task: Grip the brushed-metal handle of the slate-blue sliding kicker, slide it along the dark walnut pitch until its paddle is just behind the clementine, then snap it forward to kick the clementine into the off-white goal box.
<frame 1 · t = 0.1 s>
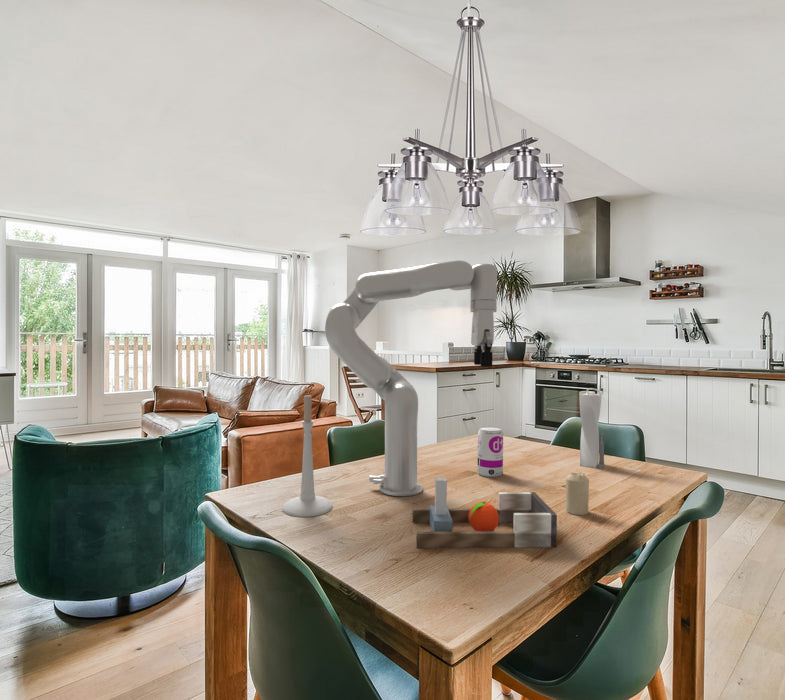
hand: (482, 365, 144), 37 cm above the table, tool pointing down, fingers open, 9 cm apart
kicker: (440, 505, 112), point 6 cm above the table, slide at 0.0 cm
clementine: (481, 534, 113), resting in pitch
skyscraper: (590, 466, 174), on the table
candle: (576, 512, 127), on the table
supplement can: (489, 474, 162), on the table
pitch: (479, 533, 113), on the table
candlestick: (307, 508, 129), on the table
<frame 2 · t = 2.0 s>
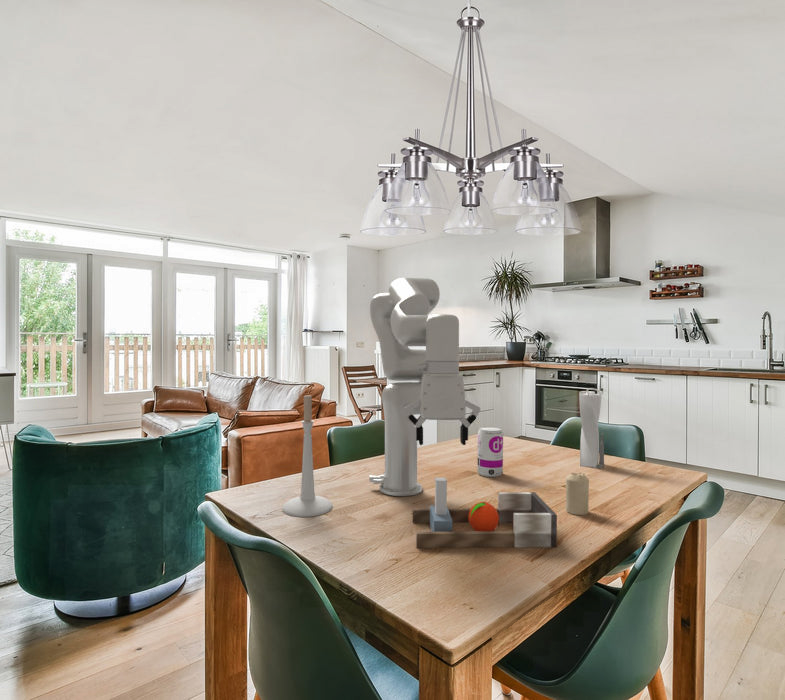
hand: (441, 443, 112), 21 cm above the table, tool pointing down, fingers open, 9 cm apart
nothing on the table moved.
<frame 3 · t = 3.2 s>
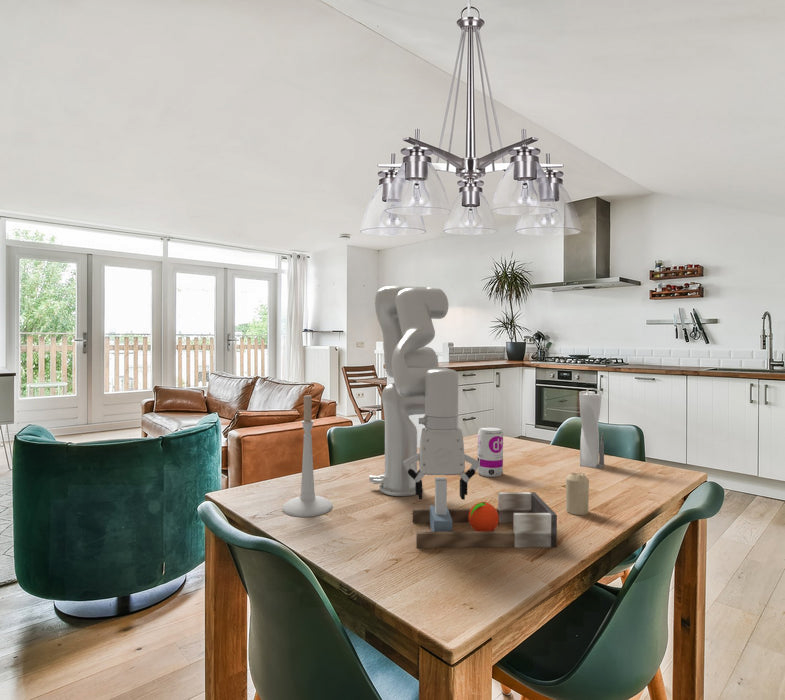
hand: (441, 497, 112), 8 cm above the table, tool pointing down, fingers open, 9 cm apart
nothing on the table moved.
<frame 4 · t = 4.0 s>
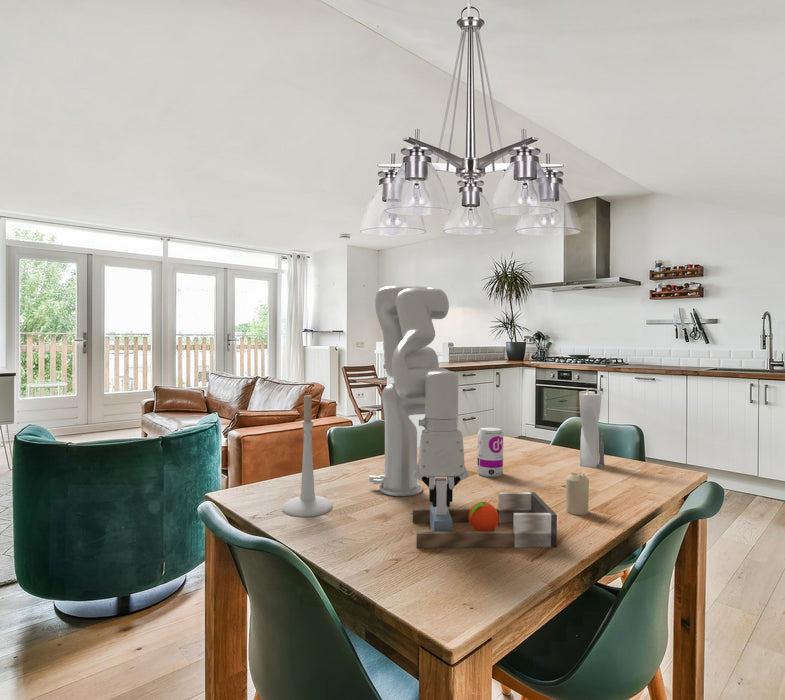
hand: (440, 504, 112), 7 cm above the table, tool pointing down, fingers closed on kicker, 2 cm apart
kicker: (440, 505, 112), point 6 cm above the table, slide at 0.0 cm, touching gripper
everything else where it was.
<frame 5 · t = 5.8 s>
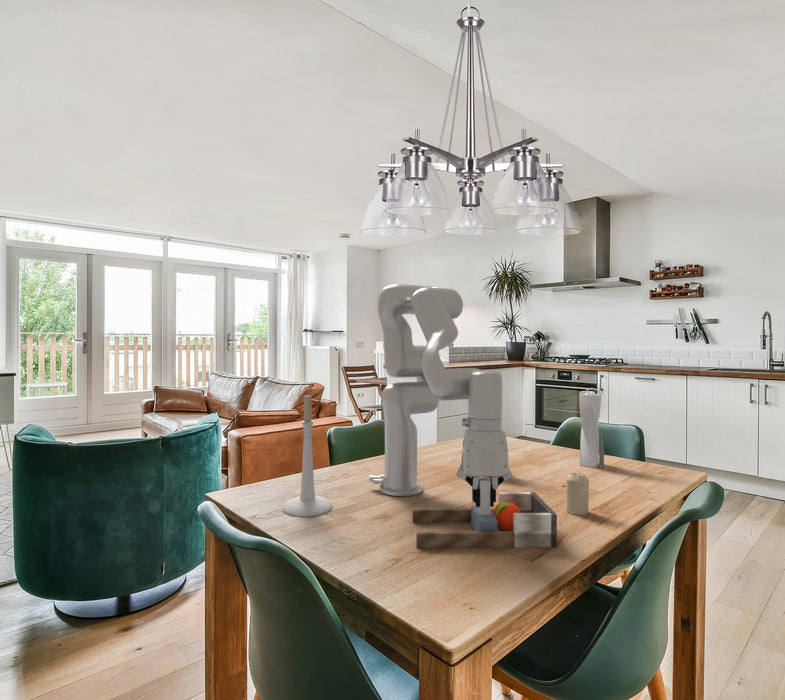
hand: (483, 504, 113), 7 cm above the table, tool pointing down, fingers closed on kicker, 2 cm apart
kicker: (483, 505, 113), point 6 cm above the table, slide at 9.9 cm, touching clementine, gripper
clementine: (505, 533, 113), resting in pitch, touching kicker
everything else where it was.
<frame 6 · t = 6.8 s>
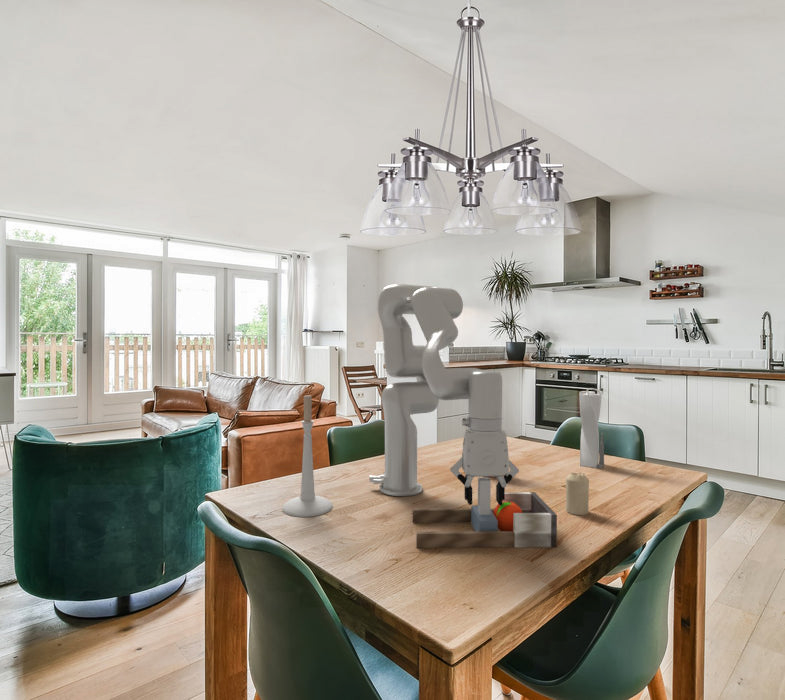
hand: (484, 502, 113), 7 cm above the table, tool pointing down, fingers open, 6 cm apart
kicker: (484, 505, 113), point 6 cm above the table, slide at 9.9 cm
clementine: (505, 533, 113), resting in pitch, touching gripper
everything else where it was.
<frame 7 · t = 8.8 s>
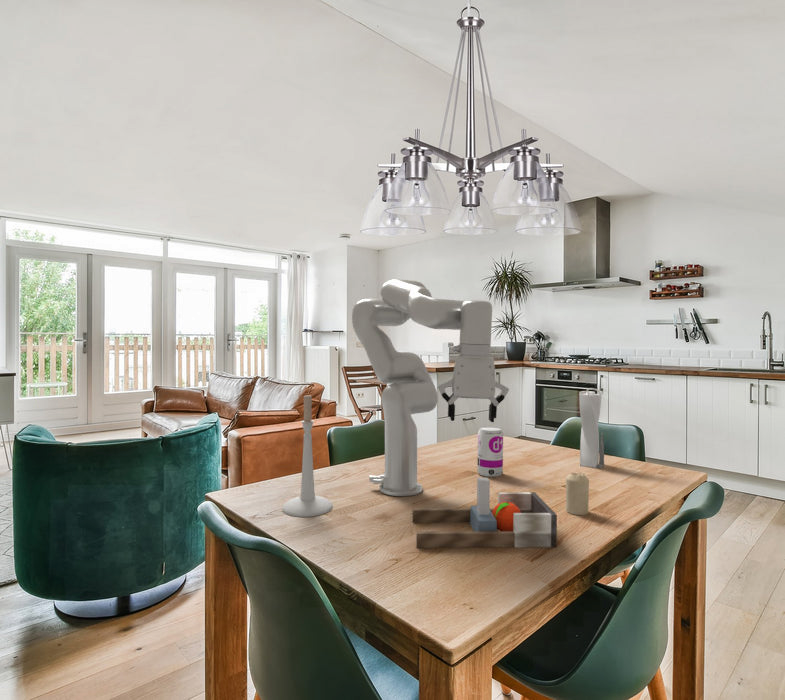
hand: (471, 420, 121), 24 cm above the table, tool pointing down, fingers open, 9 cm apart
clementine: (505, 534, 113), resting in pitch
everything else where it was.
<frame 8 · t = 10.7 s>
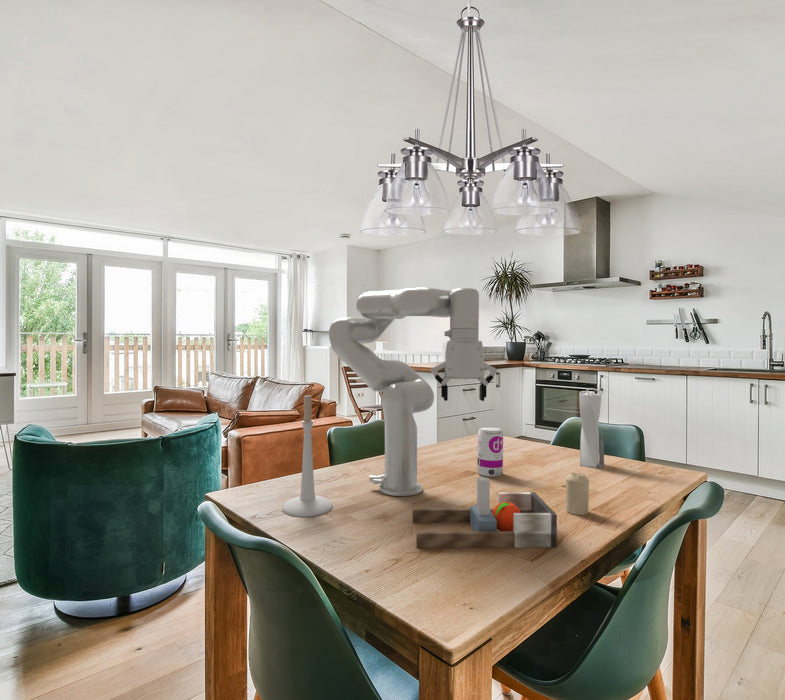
hand: (463, 400, 130), 28 cm above the table, tool pointing down, fingers open, 9 cm apart
nothing on the table moved.
at the end: clementine inside the target area (3.9 cm from its centre), resting in pitch; kicker slide at 9.7 cm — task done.
